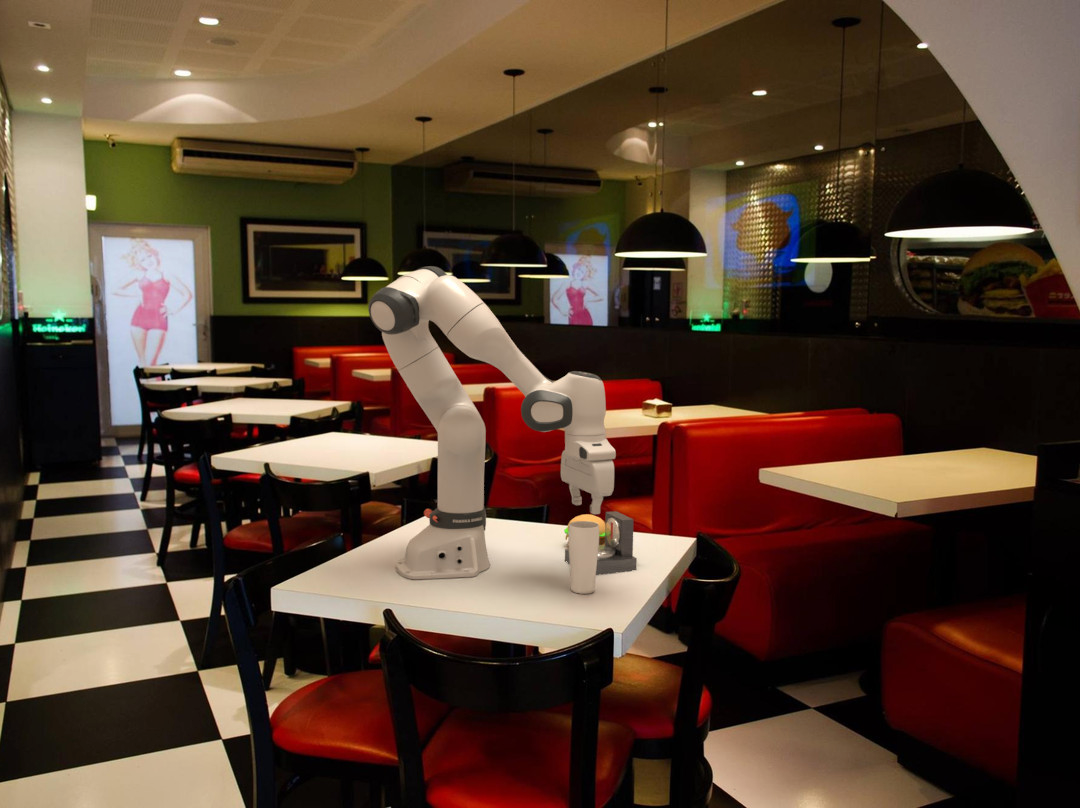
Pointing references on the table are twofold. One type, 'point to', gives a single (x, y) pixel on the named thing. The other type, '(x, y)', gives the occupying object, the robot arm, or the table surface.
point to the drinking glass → (583, 555)
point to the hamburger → (592, 519)
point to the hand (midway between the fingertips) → (585, 508)
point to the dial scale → (615, 545)
